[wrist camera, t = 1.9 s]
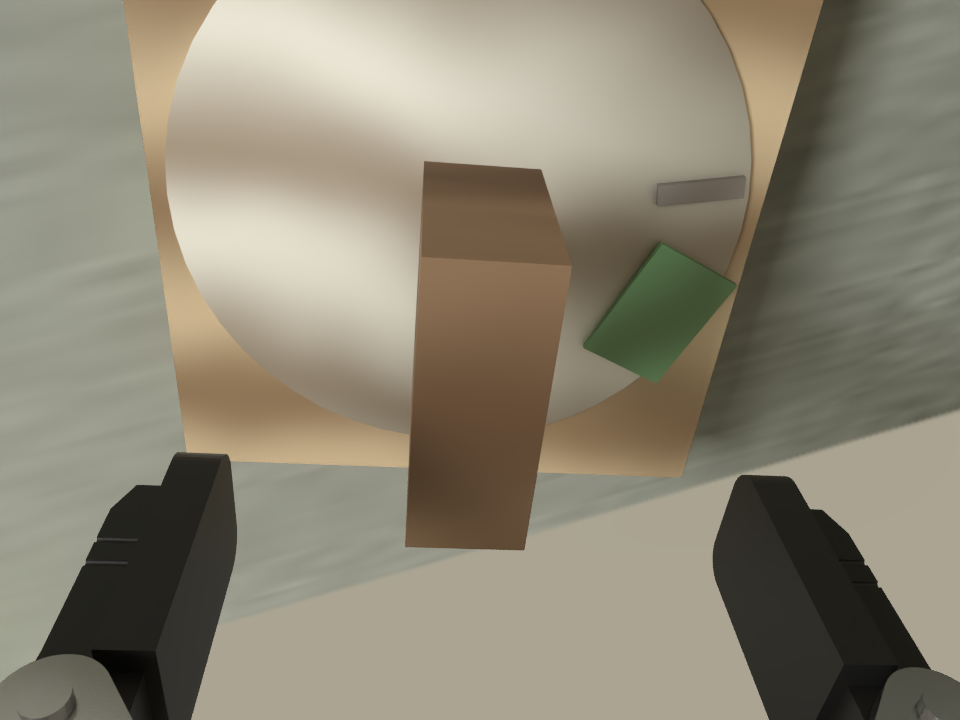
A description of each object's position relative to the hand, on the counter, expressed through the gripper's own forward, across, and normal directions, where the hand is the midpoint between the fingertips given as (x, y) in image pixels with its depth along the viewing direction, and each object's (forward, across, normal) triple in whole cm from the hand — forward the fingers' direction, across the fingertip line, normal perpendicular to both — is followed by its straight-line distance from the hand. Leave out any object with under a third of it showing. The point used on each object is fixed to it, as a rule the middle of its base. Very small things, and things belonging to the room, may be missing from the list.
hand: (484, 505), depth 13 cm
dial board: (+16, 0, 0) cm, 16 cm away
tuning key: (+11, 0, +2) cm, 12 cm away
